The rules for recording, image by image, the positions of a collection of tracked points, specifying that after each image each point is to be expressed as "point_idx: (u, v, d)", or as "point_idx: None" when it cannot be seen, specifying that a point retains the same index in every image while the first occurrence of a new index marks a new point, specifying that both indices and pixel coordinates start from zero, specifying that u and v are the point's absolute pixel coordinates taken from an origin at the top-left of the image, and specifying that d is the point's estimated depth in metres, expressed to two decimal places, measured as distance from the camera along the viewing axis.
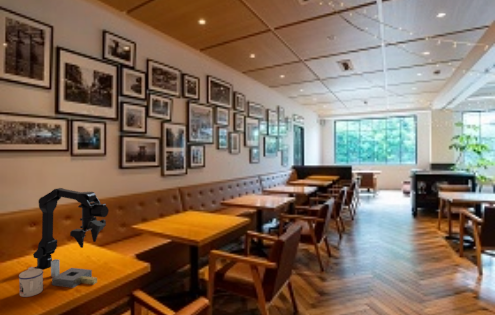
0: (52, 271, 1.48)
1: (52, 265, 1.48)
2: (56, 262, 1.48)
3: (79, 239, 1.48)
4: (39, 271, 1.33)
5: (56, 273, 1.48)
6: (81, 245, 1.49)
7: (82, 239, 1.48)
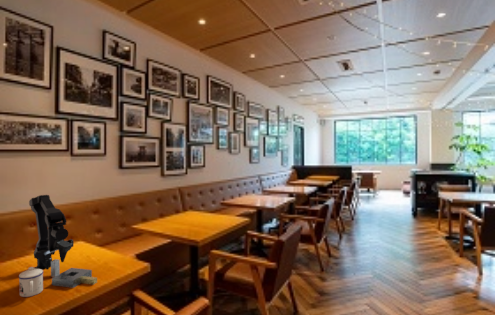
0: (52, 271, 1.48)
1: (52, 265, 1.48)
2: (56, 262, 1.48)
3: (44, 261, 1.43)
4: (39, 271, 1.33)
5: (56, 273, 1.48)
6: (46, 267, 1.44)
7: (47, 261, 1.43)
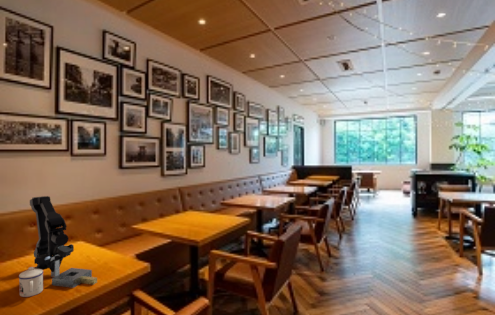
0: None
1: None
2: (56, 262, 1.48)
3: (50, 263, 1.46)
4: (39, 271, 1.33)
5: (56, 273, 1.48)
6: (52, 269, 1.47)
7: (53, 263, 1.46)
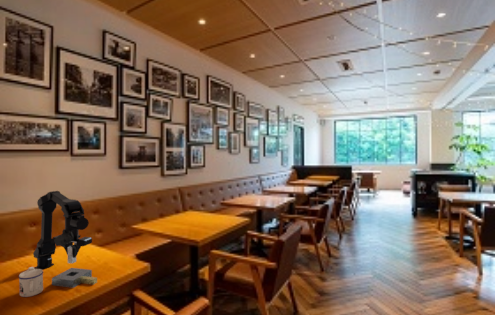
0: None
1: None
2: (68, 248, 1.42)
3: None
4: (39, 271, 1.33)
5: (68, 260, 1.42)
6: None
7: (65, 248, 1.42)
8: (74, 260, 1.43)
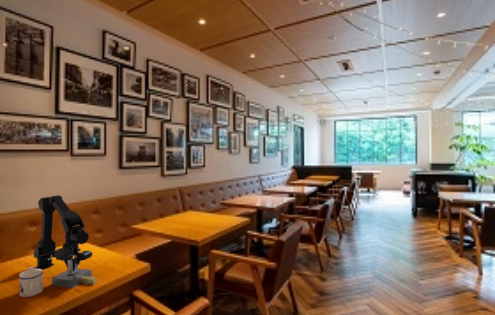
0: None
1: None
2: (69, 262, 1.42)
3: None
4: (39, 271, 1.33)
5: (69, 273, 1.42)
6: None
7: (65, 262, 1.43)
8: (74, 274, 1.44)
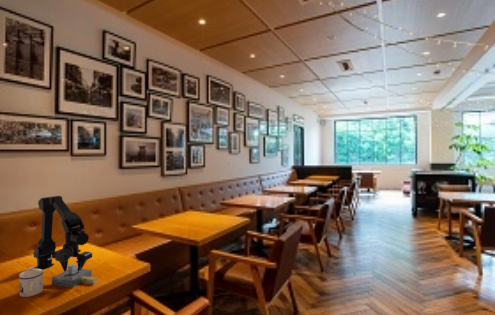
0: None
1: None
2: (69, 267, 1.42)
3: None
4: (39, 271, 1.33)
5: None
6: None
7: (60, 262, 1.43)
8: None
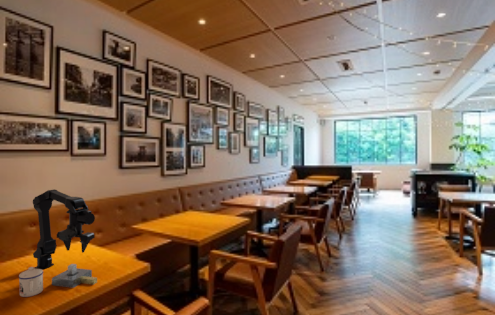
0: None
1: None
2: (69, 267, 1.42)
3: None
4: (39, 271, 1.33)
5: None
6: None
7: (64, 242, 1.51)
8: None
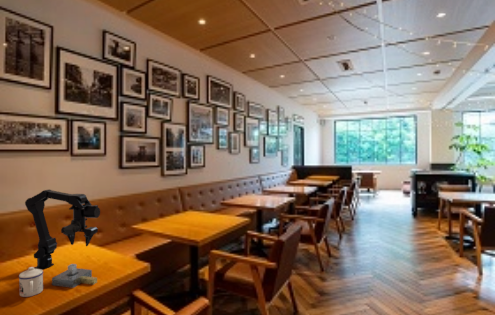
0: None
1: None
2: (69, 267, 1.42)
3: None
4: (39, 271, 1.33)
5: None
6: None
7: (68, 236, 1.58)
8: None
